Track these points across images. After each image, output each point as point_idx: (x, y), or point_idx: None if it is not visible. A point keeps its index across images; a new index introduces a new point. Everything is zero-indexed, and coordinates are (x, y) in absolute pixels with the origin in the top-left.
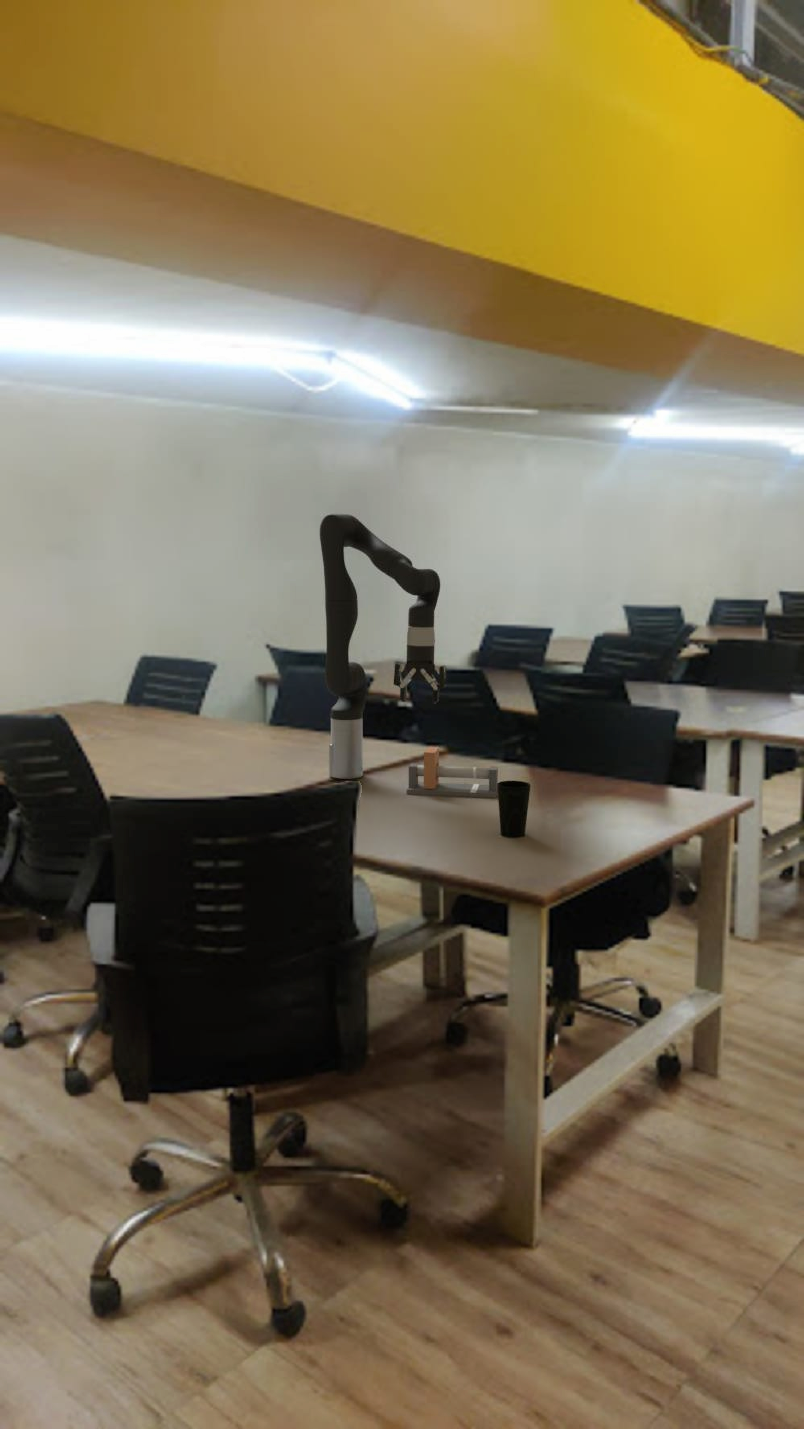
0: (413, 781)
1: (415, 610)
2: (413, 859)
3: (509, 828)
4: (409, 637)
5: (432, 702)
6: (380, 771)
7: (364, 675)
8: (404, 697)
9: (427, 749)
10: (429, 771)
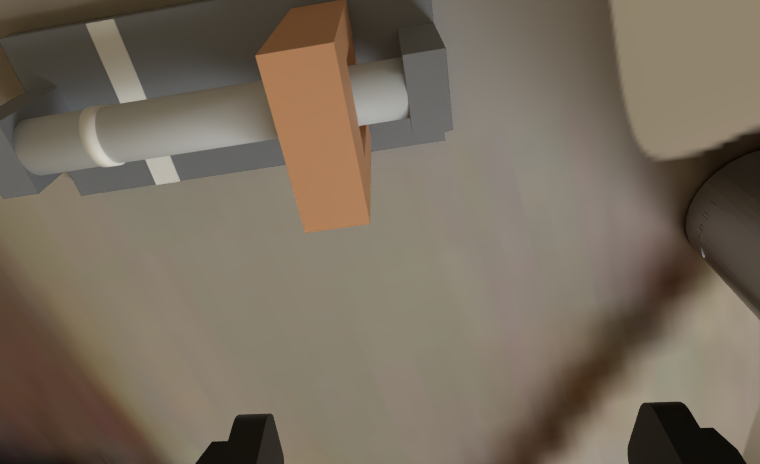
0: (410, 33)
1: None
2: None
3: None
4: None
5: (263, 418)
6: (619, 308)
7: None
8: (673, 445)
9: (346, 145)
10: (307, 20)
